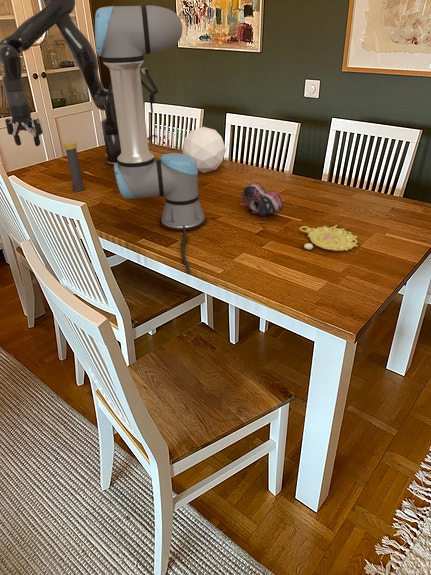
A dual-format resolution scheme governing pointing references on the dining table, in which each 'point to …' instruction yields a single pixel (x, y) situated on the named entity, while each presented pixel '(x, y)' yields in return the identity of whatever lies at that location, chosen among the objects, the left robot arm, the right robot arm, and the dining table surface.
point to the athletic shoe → (261, 200)
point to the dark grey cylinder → (75, 169)
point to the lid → (70, 145)
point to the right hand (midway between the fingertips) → (135, 113)
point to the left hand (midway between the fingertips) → (28, 145)
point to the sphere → (205, 148)
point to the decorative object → (330, 238)
